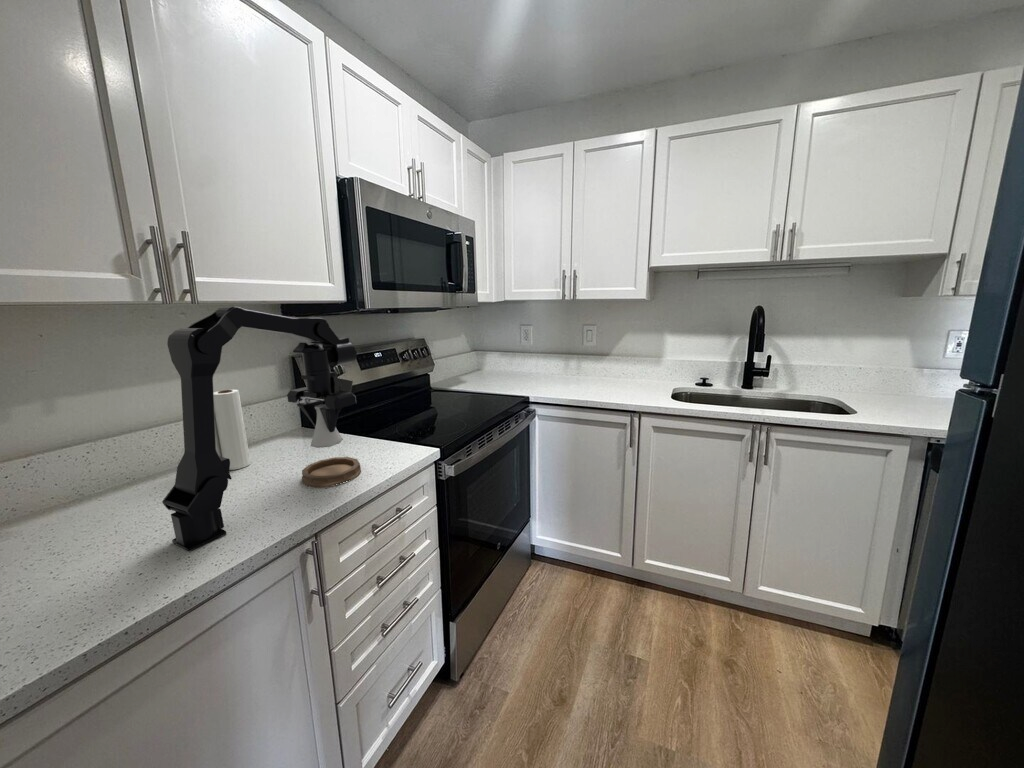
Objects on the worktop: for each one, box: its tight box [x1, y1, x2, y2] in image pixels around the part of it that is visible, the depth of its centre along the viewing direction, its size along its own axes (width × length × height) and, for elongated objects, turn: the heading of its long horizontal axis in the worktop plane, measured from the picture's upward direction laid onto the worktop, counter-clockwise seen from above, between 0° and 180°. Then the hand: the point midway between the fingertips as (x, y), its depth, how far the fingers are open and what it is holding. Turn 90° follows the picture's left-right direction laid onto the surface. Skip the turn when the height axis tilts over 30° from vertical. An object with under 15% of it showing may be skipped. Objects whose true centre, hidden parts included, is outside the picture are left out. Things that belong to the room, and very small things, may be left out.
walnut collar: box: [301, 456, 362, 488], centre depth 105 cm, size 14×14×2 cm
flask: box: [310, 403, 344, 449], centre depth 102 cm, size 7×7×10 cm
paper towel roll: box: [213, 389, 251, 471], centre depth 110 cm, size 7×6×21 cm
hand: (325, 430), depth 102 cm, fingers closed on flask, 5 cm apart
